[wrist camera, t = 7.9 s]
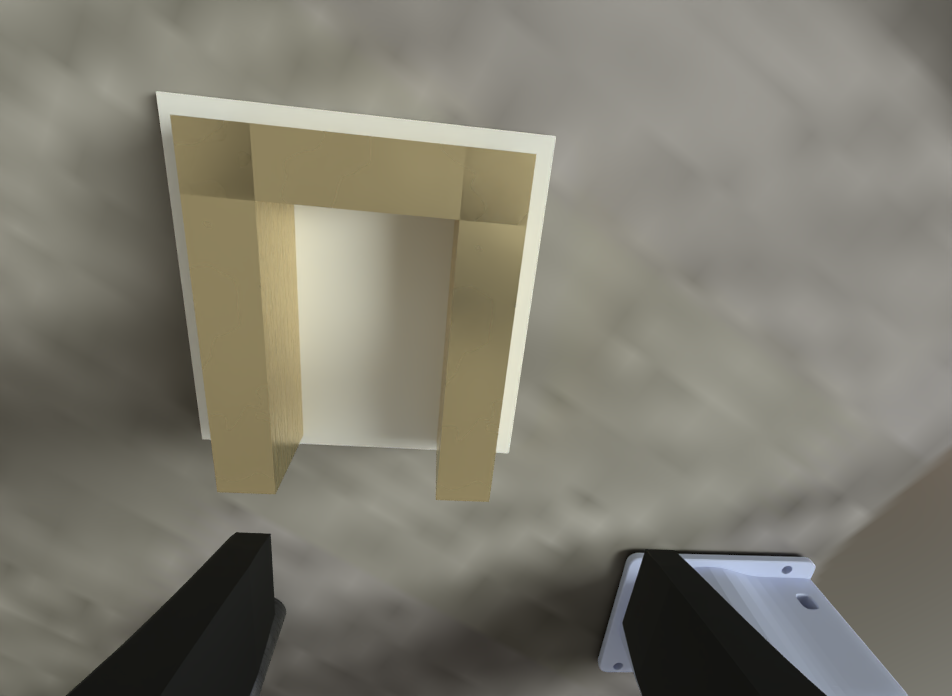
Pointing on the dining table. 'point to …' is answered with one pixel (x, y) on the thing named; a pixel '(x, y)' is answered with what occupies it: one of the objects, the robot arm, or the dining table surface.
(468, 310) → the c link
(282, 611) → the post
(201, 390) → the coaster
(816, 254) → the dining table surface
